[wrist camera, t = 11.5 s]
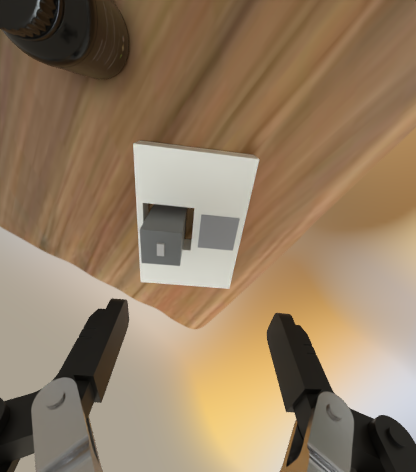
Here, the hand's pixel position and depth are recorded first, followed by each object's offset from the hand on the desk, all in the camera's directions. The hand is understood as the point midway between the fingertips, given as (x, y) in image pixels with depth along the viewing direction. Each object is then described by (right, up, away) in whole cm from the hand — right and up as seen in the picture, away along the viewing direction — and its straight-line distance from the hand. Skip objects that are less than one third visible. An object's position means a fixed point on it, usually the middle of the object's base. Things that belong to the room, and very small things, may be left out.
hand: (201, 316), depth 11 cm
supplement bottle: (-11, +24, +9) cm, 28 cm away
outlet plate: (-2, +7, +19) cm, 20 cm away
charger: (-5, +7, +19) cm, 21 cm away
